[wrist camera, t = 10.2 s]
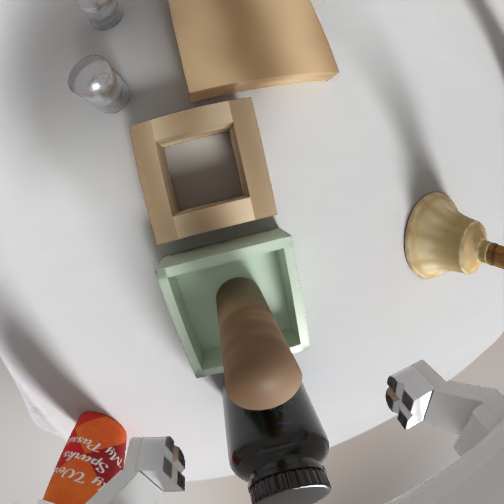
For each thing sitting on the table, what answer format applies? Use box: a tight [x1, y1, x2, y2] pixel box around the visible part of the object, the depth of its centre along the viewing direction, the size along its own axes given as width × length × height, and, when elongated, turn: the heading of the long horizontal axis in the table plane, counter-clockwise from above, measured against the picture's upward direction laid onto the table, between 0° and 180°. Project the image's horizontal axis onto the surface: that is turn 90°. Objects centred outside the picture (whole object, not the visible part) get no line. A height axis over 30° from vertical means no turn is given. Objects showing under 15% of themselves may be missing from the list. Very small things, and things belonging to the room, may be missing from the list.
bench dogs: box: [68, 0, 130, 113], centre depth 11 cm, size 2×10×5 cm, turn 12°
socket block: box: [129, 97, 277, 245], centre depth 16 cm, size 7×7×3 cm
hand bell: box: [405, 192, 504, 279], centre depth 14 cm, size 8×8×16 cm
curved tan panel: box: [168, 0, 339, 103], centre depth 14 cm, size 10×12×2 cm
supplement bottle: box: [223, 381, 331, 504], centre depth 16 cm, size 7×7×12 cm
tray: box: [155, 228, 310, 378], centre depth 18 cm, size 8×8×3 cm
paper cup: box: [38, 412, 127, 504], centre depth 14 cm, size 8×8×14 cm
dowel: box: [216, 277, 302, 410], centre depth 15 cm, size 3×3×9 cm
